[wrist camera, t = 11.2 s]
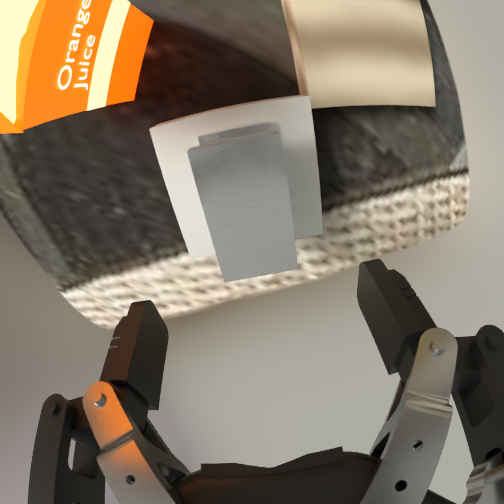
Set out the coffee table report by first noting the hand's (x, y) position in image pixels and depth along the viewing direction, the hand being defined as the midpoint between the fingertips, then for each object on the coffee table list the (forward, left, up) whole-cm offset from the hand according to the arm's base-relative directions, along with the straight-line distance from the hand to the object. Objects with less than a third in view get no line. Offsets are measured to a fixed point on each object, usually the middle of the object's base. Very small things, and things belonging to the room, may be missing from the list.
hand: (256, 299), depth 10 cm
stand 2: (-11, +12, -16) cm, 23 cm away
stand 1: (0, 0, -16) cm, 16 cm away
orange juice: (-14, -10, -16) cm, 24 cm away
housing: (0, 0, -13) cm, 13 cm away
